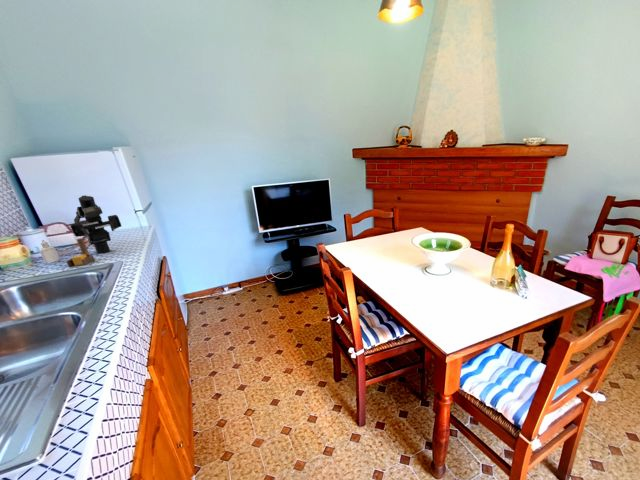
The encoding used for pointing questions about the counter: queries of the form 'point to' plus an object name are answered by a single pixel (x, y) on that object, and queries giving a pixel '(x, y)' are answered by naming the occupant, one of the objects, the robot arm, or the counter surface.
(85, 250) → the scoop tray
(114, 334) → the counter surface
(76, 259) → the block
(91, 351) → the counter surface
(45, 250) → the eye dropper bottle
